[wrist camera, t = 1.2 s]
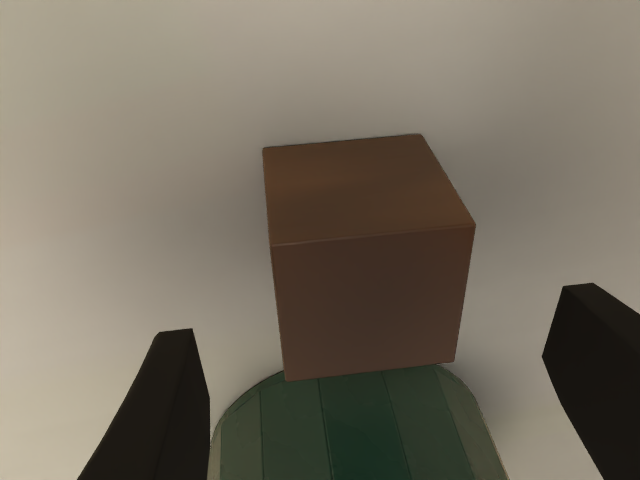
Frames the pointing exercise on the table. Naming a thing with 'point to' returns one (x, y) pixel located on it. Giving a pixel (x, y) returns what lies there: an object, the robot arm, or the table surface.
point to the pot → (356, 430)
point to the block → (365, 255)
